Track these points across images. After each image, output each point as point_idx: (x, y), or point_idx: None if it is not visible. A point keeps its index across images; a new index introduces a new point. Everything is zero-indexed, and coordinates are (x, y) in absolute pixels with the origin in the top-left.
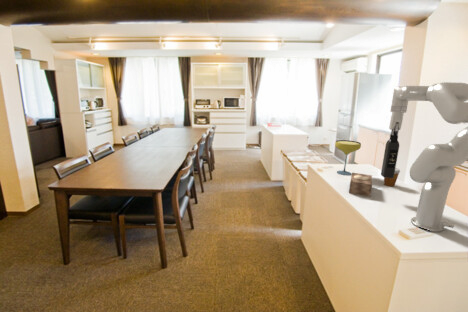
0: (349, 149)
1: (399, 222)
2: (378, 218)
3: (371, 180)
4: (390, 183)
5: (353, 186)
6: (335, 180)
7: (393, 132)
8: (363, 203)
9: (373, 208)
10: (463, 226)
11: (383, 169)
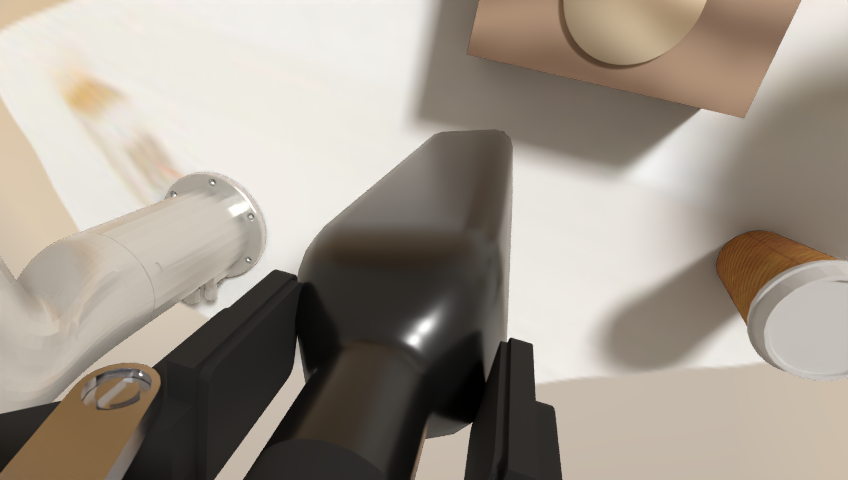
0: None
1: (193, 120)
2: (189, 29)
3: (579, 76)
4: (726, 264)
5: None
6: None
7: (39, 454)
8: None
9: (300, 32)
10: None
11: (448, 140)
